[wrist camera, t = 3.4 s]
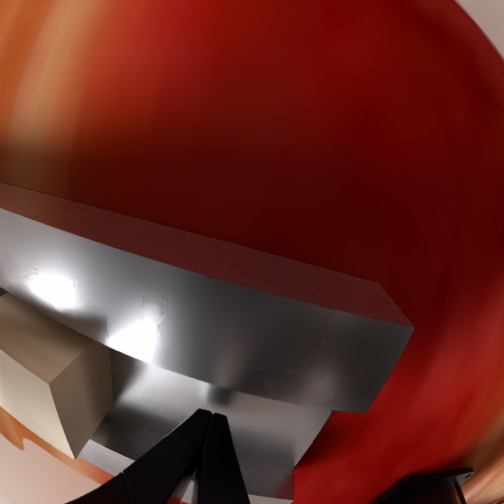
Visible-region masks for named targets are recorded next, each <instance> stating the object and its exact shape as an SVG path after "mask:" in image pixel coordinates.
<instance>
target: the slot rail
mask: <svg viewBox="0 0 504 504" xmlns="http://www.w3.org/2000/svg"><path fill="white" fill-rule="evenodd" d="M0 287H1V288H3V289H4V290H6V291H7V292H9V293H11V294H12V295H14V296H15V297H17V298H18V299H20V300H22V301H23V302H25V303H26V304H28V305H30V306H31V307H33V308H35V309H37V310H38V311H40V312H42V313H43V314H45V315H47V316H49V317H51V318H52V319H54V320H56V321H58V322H60V323H62V324H64V325H65V326H67V327H69V328H71V329H73V330H75V331H77V332H79V333H81V334H83V335H85V336H87V337H89V338H92V339H94V340H96V341H98V342H100V343H102V344H104V345H107V346H109V347H110V358H111V377H112V390H113V401H114V405H113V406H112V408H111V409H110V411H109V412H108V413H107V415H106V416H105V418H104V419H103V420H102V422H101V423H100V425H99V426H98V428H97V429H96V430H95V432H94V433H93V435H92V436H91V438H90V439H89V441H88V442H87V443H86V445H85V446H84V448H83V449H82V451H81V452H80V454H79V455H78V457H80V458H82V459H83V460H85V461H87V462H89V463H91V464H93V465H95V466H96V467H98V468H100V469H102V470H104V471H106V472H108V473H110V474H113V475H115V476H116V475H117V474H118V473H120V472H122V471H123V470H124V469H125V468H127V467H128V466H129V465H131V464H132V463H133V462H134V461H136V460H137V459H138V458H140V457H141V456H142V455H143V454H145V453H146V452H147V451H148V450H150V449H151V448H152V447H153V446H155V445H156V444H157V443H158V442H159V441H161V440H162V439H163V438H164V437H165V436H167V435H168V434H169V433H170V432H171V431H173V430H174V429H175V428H176V427H177V426H178V425H180V424H181V423H182V422H183V421H184V420H185V419H187V418H188V417H189V416H190V415H191V414H192V413H193V412H194V411H196V410H197V409H198V408H202V409H206V410H209V411H211V412H212V413H214V412H216V413H220V414H224V415H226V416H227V418H228V422H229V426H230V430H231V434H232V438H233V442H234V446H235V450H236V454H237V458H238V461H239V465H240V469H241V472H242V476H243V479H244V483H245V486H246V490H247V493H248V496H249V500H250V503H251V504H290V503H291V502H292V501H293V500H294V467H295V466H296V464H297V463H298V462H299V460H300V459H301V457H302V456H303V455H304V453H305V452H306V451H307V449H308V448H309V446H310V445H311V443H312V442H313V440H314V439H315V437H316V436H317V434H318V433H319V431H320V430H321V428H322V427H323V425H324V424H325V422H326V421H327V419H328V417H329V416H330V414H331V413H332V411H333V410H336V411H344V412H353V413H363V414H366V412H367V411H368V409H369V408H370V406H371V405H372V403H373V402H374V400H375V398H376V397H377V395H378V394H379V392H380V391H381V389H382V387H383V386H384V384H385V382H386V381H387V379H388V377H389V376H390V374H391V372H392V370H393V369H394V367H395V365H396V363H397V362H398V360H399V358H400V356H401V354H402V352H403V351H404V349H405V347H406V345H407V343H408V341H409V339H410V337H411V335H412V333H413V331H414V329H415V327H414V326H413V324H412V323H411V322H410V321H409V319H408V318H407V317H406V316H405V314H404V313H403V312H402V311H401V309H400V308H399V307H398V306H397V304H396V303H395V302H394V301H393V299H392V298H391V297H390V296H389V295H388V293H387V292H386V291H385V290H384V289H383V287H382V286H381V285H380V284H379V283H378V282H374V281H371V280H367V279H363V278H360V277H356V276H352V275H349V274H345V273H341V272H338V271H334V270H330V269H326V268H323V267H319V266H315V265H312V264H308V263H304V262H301V261H297V260H293V259H289V258H286V257H282V256H278V255H275V254H271V253H267V252H263V251H260V250H256V249H252V248H248V247H245V246H241V245H237V244H234V243H230V242H226V241H222V240H219V239H215V238H211V237H207V236H204V235H200V234H196V233H192V232H189V231H185V230H181V229H177V228H173V227H170V226H166V225H162V224H158V223H155V222H151V221H147V220H143V219H139V218H136V217H132V216H128V215H124V214H120V213H117V212H113V211H109V210H105V209H101V208H98V207H94V206H90V205H86V204H82V203H79V202H75V201H71V200H67V199H63V198H59V197H56V196H52V195H48V194H44V193H40V192H36V191H32V190H29V189H25V188H21V187H17V186H13V185H9V184H5V183H2V182H0ZM196 468H197V467H196ZM195 472H196V470H195ZM122 473H123V472H122ZM194 477H195V473H194V475H193V477H192V480H191V482H190V484H189V486H188V488H187V490H186V492H185V494H184V496H183V498H182V500H181V501H183V502H186V503H189V504H191V498H192V491H193V484H194Z"/></svg>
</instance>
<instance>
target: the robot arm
mask: <svg viewBox="0 0 504 504" xmlns="http://www.w3.org/2000/svg"><path fill="white" fill-rule="evenodd" d="M196 467H197V468H196ZM195 470H196V472H195ZM122 472H123V473H122ZM122 472H120V473H118V474H117V475H116V476H114V477H113V478H112V479H110V480H109V481H107V482H106V483H104V484H103V485H101V486H100V487H98V488H96V489H94V490H93V491H91V492H89V493H87V494H85V495H83V496H81V497H79V498H76V499H74V500H72V501H70V502H67V503H65V504H180V502H181V500H182V498H183V496H184V494H185V492H186V490H187V488H188V486H189V484H190V482H191V480H192V477H193V475H194V473H195V477H194V484H193V491H192V498H191V504H251V503H250V500H249V496H248V493H247V490H246V486H245V483H244V479H243V476H242V472H241V469H240V465H239V461H238V458H237V454H236V450H235V446H234V442H233V438H232V434H231V430H230V426H229V422H228V418H227V416H226V415H224V414H220V413H216V412H214V413H212V412H211V411H209V410H206V409H202V408H198V409H197V410H196V411H194V412H193V413H192V414H191V415H190V416H189V417H188V418H187V419H185V420H184V421H183V422H182V423H181V424H180V425H178V426H177V427H176V428H175V429H174V430H173V431H171V432H170V433H169V434H168V435H167V436H165V437H164V438H163V439H162V440H161V441H159V442H158V443H157V444H156V445H155V446H153V447H152V448H151V449H150V450H148V451H147V452H146V453H145V454H143V455H142V456H141V457H140V458H138V459H137V460H136V461H134V462H133V463H132V464H131V465H129V466H128V467H127V468H125V469H124V470H123V471H122ZM474 473H475V471H474V469H473V467H471V468H467V469H463V470H459V471H454V472H449V473H444V474H438V475H432V476H426V477H419V478H410V479H405V480H402V481H400V482H398V483H397V484H395V485H394V486H393V487H392V488H391V489H390V490H389V491H387V492H386V493H385V494H384V495H383V496H381V497H380V498H379V499H378V500H376V501H375V502H374V503H372V504H467V503H466V501H465V498H464V495H463V493H462V490H461V487H460V486H461V485H462V484H463V483H464V482H466V481H467V480H468V479H469V478H470V477H471V476H472V475H473V474H474Z"/></svg>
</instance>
